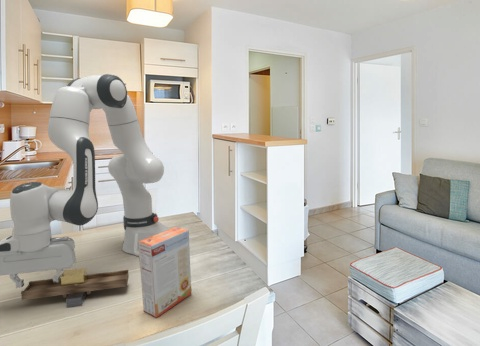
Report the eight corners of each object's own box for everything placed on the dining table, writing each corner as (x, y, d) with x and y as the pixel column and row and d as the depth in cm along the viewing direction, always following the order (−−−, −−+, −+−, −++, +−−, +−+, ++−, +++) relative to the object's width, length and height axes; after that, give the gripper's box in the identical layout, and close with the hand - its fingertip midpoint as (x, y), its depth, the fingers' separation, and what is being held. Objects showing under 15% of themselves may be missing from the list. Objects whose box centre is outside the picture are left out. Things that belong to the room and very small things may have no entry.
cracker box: (178, 288, 96) (175, 225, 93) (192, 294, 93) (190, 229, 89) (141, 311, 85) (137, 240, 81) (156, 318, 81) (152, 245, 78)
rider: (87, 279, 94) (86, 267, 93) (84, 286, 90) (83, 274, 90) (66, 282, 93) (64, 270, 92) (62, 289, 89) (60, 276, 88)
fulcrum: (90, 284, 99) (90, 277, 98) (82, 305, 87) (81, 297, 87) (77, 285, 98) (76, 278, 97) (66, 307, 86) (65, 299, 86)
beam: (128, 279, 99) (128, 269, 98) (127, 289, 93) (126, 278, 92) (30, 291, 92) (29, 281, 91) (22, 303, 86) (20, 291, 85)
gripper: (76, 232, 92) (80, 274, 95) (-3, 239, 87) (4, 283, 89) (70, 239, 86) (75, 284, 89) (-14, 247, 81) (-7, 295, 83)
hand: (38, 284), depth 89 cm, fingers open, 8 cm apart
